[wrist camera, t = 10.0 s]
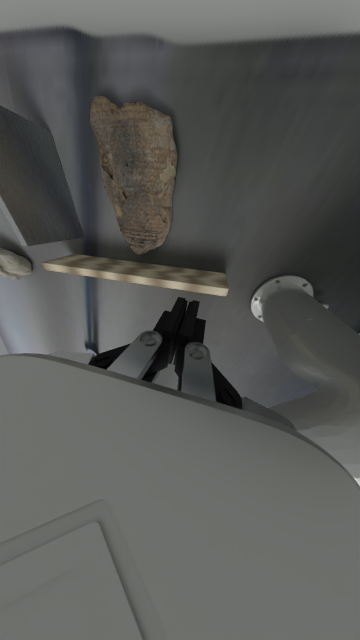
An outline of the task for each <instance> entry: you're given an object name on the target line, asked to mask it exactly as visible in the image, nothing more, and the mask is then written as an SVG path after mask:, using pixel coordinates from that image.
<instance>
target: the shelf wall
mask: <svg viewBox="0 0 360 640" xmlns="http://www.w3.org/2000/svg"><path fill="white" fill-rule="evenodd" d="M42 265H43V267H44V269H45V270H51V271H58V272H65V273H71V274H78V275H85V276H92V277H98V278H105V279H112V280H119V281H125V282H132V283H139V284H146V285H152V286H159V287H166V288H173V289H180V290H186V291H193V292H200V293H207V294H213V295H220V296H226V295H227V292H228V284H227V279H226V274H225V273H219V272H211V271H203V270H196V269H188V268H180V267H172V266H164V265H157V264H149V263H141V262H133V261H126V260H118V259H110V258H102V257H95V256H87V255H79V254H72V255H68V256H65V257H61V258H57V259H53V260H50V261H46V262H42Z"/></svg>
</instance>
